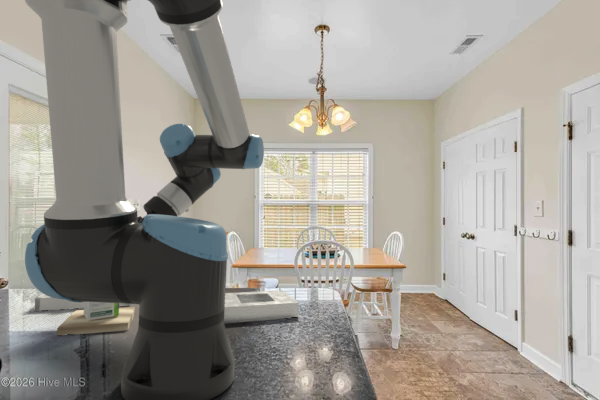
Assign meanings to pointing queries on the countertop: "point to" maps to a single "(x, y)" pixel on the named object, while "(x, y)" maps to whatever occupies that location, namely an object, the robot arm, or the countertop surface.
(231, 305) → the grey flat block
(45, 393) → the countertop surface
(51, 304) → the parts tray frame
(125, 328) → the maple pad
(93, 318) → the syrup box
